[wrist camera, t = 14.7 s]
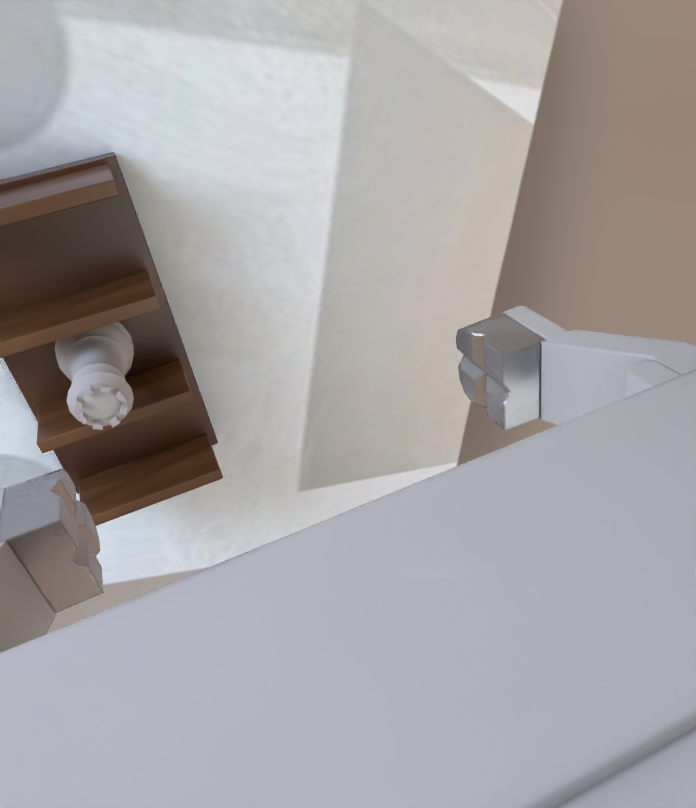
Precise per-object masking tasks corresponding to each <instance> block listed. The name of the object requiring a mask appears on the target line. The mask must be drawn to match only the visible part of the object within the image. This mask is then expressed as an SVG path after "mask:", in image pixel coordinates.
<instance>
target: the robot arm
mask: <svg viewBox="0 0 696 808" xmlns="http://www.w3.org/2000/svg"><path fill="white" fill-rule="evenodd" d="M456 344H457V349H458V350H459V351H460V352H461V353H462V354H464V356H463V358H462V360H461V362H460V364H459V366H458V368H459V377H460V382H461V384H462V387H463V390H464V392H465V393H466V395H467V396H468V398H469V399H470V400H471V401H472V402H473V403H474V404H475V405H478V406H482V407H487V415H488V416H489V417H490V418H491V419H492V420H493V421H494V422H495V423H496V424H498V425H499V426H500V427H501V428H502V429H503V430H504V431H507V430H510V429H513V428H515V427H518V426H521V425H523V424H526V423H529V422H532V421H534V420H537V419H540V418H541V420H543V421H546V422H549V423H552V424H555V425H557V426H555V427H552V428H550V429H547V430H545V431H543V432H540V433H538V434H535V435H533V436H530V437H528V438H525V439H523V440H521V441H518V442H516V443H513V444H511V445H508V446H506V447H503V448H501V449H499V450H496V451H494V452H491V453H489V454H486V455H484V456H481V457H479V458H476V459H474V460H471V461H469V462H467V463H464V464H462V465H459V466H457V467H454V468H452V469H449V470H447V471H444V472H442V473H440V474H437V475H435V476H432V477H430V478H427V479H425V480H422V481H420V482H418V483H415V484H413V485H410V486H408V487H405V488H403V489H400V490H398V491H395V492H393V493H391V494H388V495H386V496H383V497H381V498H378V499H376V500H373V501H371V502H369V503H366V504H364V505H361V506H359V507H356V508H354V509H351V510H349V511H346V512H344V513H342V514H339V515H337V516H334V517H332V518H329V519H327V520H324V521H322V522H320V523H317V524H315V525H312V526H310V527H307V528H305V529H302V530H300V531H297V532H295V533H293V534H290V535H288V536H285V537H283V538H280V539H278V540H275V541H273V542H270V543H268V544H266V545H263V546H261V547H258V548H256V549H253V550H251V551H248V552H246V553H244V554H241V555H239V556H236V557H234V558H231V559H229V560H226V561H224V562H221V563H219V564H217V565H214V566H212V567H209V568H207V569H205V570H202V571H199V572H197V573H195V574H192V575H190V576H187V577H185V578H182V579H180V580H178V581H175V582H173V583H170V584H168V585H165V586H163V587H160V588H158V589H155V590H153V591H150V592H148V593H145V594H143V595H141V596H138V597H136V598H133V599H131V600H128V601H126V602H123V603H121V604H119V605H116V606H114V607H111V608H109V609H106V610H104V611H101V612H99V613H97V614H94V615H92V616H89V617H87V618H84V619H82V620H79V621H77V622H74V623H72V624H70V625H67V626H65V627H62V628H60V629H57V630H55V631H53V632H50V633H47V631H48V630H49V628H50V626H51V624H52V623H53V621H54V619H55V617H56V614H55V613H57V612H59V611H62V610H64V609H66V608H69V607H71V606H73V605H76V604H78V603H80V602H83V601H84V600H87V599H90V598H92V597H94V596H97V595H99V594H101V593H103V581H102V567H101V565H100V563H99V561H98V560H97V558H96V556H97V554H98V553H99V551H100V543H99V537H98V534H97V530H96V526H95V523H94V521H93V519H92V516H91V514H90V512H89V510H88V508H87V506H86V504H84V503H82V502H80V501H78V500H76V488H75V484H74V483H73V481H72V479H71V478H70V476H69V474H68V473H67V472H66V471H65V470H64V469H60V470H57V471H54V472H51V473H48V474H45V475H42V476H39V477H36V478H33V479H30V480H27V481H24V482H21V483H18V484H15V485H12V486H9V487H7V488H2V489H0V808H696V346H694V345H692V344H690V343H688V342H682V341H672V340H664V339H654V338H646V337H636V336H628V335H619V334H610V333H600V332H591V331H582V330H573V331H570V332H568V331H566V330H565V329H563V328H561V327H559V326H558V325H556V324H554V323H553V322H551V321H549V320H547V319H546V318H544V317H542V316H540V315H539V314H537V313H536V312H534V311H532V310H531V309H529V308H527V307H525V306H518V307H515V308H512V309H510V310H507V311H505V312H502V313H500V314H497V315H495V316H492V317H490V318H487V319H484V320H482V321H479V322H477V323H474V324H471V325H469V326H466V327H464V328H461V329H459V330H458V331H457V336H456Z"/></svg>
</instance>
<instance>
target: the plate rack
mask: <svg viewBox="0 0 696 808" xmlns="http://www.w3.org/2000/svg"><path fill="white" fill-rule="evenodd" d="M116 322H119V323H121V324H122V325H123V326H124V327H125V329H126V330H127V331H128V333H129V334H130V335H131V339H132V343H133V347H134V350H133V352H134V356H133V361H132V366H131V368H130V369H129V371H128V372H127V374H126V375H125V376H124V377H125V380H126V382H127V383H128V384H129V386H130V387H131V389H132V393H133V397H134V400H133V404H132V409H131V410H130V411H129V413H128V414H127V415H126V417H125V418H123V419H122V420H120V421H121V423H119V424H118V425H116V426H114V427H112V426H111V425H107V426H103V430H100V429H93V426H90V425H87V424H83V423H82V422H81V421H78V420H77V419H76V418H75V417H74V416H73V415H72V413H71V412H70V410H69V407H68V404H67V396H68V390H69V389H70V388H71V384H72V381H71V380H70V379H69V378H68V377H67V376H66V375H65V374H64V373H63V372H62V371H61V369H60V368H59V364H58V361H57V358H56V353H55V343H56V341H57V340H60V339H64V338H67V337H70V336H73V335H77V334H80V333H83V332H86V331H90V330H93V329H96V328H100V327H103V326H106V325H109V324H113V323H116ZM2 357H3V359H4V361H5V363H6V364H7V366H8V368H9V370H10V372H11V373H12V375H13V377H14V379H15V381H16V383H17V384H18V386H19V388H20V390H21V392H22V394H23V395H24V397H25V399H26V401H27V403H28V405H29V406H30V408H31V410H32V412H33V414H34V415H35V417H36V419H37V421H38V432H37V445H38V446H39V448H40V450H41V452H42V453H45V452H48V451H50V450H54V452H55V454H56V456H57V457H58V459H59V461H60V463H61V465H62V467H63V468H64V470H65V471H66V472H67V473H68V474H69V476H70V478H71V479H72V481H73V483H74V484H75V488H76V492H77V494H80V502H82V503H84V504H86V506H87V508H88V510H89V512H90V514H91V516H92V519H93V521H94V523H95V526H97V525H99V524H102V523H105V522H107V521H110V520H113V519H115V518H118V517H121V516H123V515H126V514H129V513H131V512H134V511H137V510H139V509H142V508H145V507H147V506H150V505H153V504H155V503H158V502H161V501H163V500H166V499H169V498H171V497H174V496H177V495H179V494H182V493H185V492H187V491H190V490H193V489H195V488H198V487H201V486H203V485H206V484H209V483H211V482H214V481H217V480H219V479H222V478H223V476H222V473H221V470H220V468H219V465H218V462H217V459H216V457H215V454H214V451H213V448H212V446H211V445H214V444H217V443H218V441H217V438H216V436H215V433H214V430H213V427H212V424H211V422H210V419H209V416H208V413H207V410H206V408H205V405H204V402H203V399H202V396H201V394H200V391H199V388H198V385H197V382H196V380H195V377H194V374H193V371H192V368H191V366H190V363H189V360H188V357H187V354H186V352H185V349H184V346H183V343H182V340H181V338H180V335H179V332H178V329H177V326H176V324H175V321H174V318H173V315H172V312H171V310H170V307H169V304H168V301H167V298H166V296H165V293H164V290H163V287H162V284H161V282H160V279H159V276H158V273H157V270H156V268H155V265H154V262H153V259H152V256H151V254H150V251H149V248H148V245H147V242H146V240H145V237H144V234H143V231H142V228H141V226H140V223H139V220H138V217H137V214H136V212H135V209H134V206H133V203H132V200H131V198H130V195H129V192H128V189H127V186H126V184H125V181H124V178H123V175H122V172H121V170H120V167H119V164H118V161H117V158H116V156H115V153H109V154H105V155H101V156H97V157H93V158H88V159H84V160H80V161H76V162H72V163H68V164H64V165H60V166H56V167H52V168H48V169H44V170H40V171H36V172H32V173H28V174H24V175H20V176H16V177H12V178H8V179H4V180H0V358H2Z"/></svg>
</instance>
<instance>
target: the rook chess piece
mask: <svg viewBox="0 0 696 808" xmlns="http://www.w3.org/2000/svg"><path fill="white" fill-rule="evenodd" d="M133 350H134V347H133V343H132V339H131V335H130V334H129V333H128V331H127V330H126V329H125V327H124V326H123V325H122V324H121V323H119V322H116V323H113V324H109V325H106V326H103V327H100V328H96V329H93V330H90V331H86V332H83V333H80V334H77V335H73V336H70V337H67V338H64V339H60V340H57V341H56V343H55V353H56V358H57V361H58V364H59V368H60V369H61V371H62V372H63V373H64V374H65V375H66V376H67V377H68V378H69V379H70V380H71V381H72V384H71V388H70V389H69V390H68V396H67V404H68V407H69V410H70V412H71V413H72V415H73V416H74V417H75V418H76V419H77V420H78V421H81V422H82V423H83V424H87V425H90V426H93V429H100V430H103V426H107V425H111V426H112V427H114V426H116V425H118V424H119V423H121V421H120V420H122V419H123V418H125V417H126V415H127V414H128V413H129V411H130V410H131V409H132V404H133V400H134V397H133V393H132V389H131V387H130V386H129V384H128V383H127V382H126V380H125V377H124V376H125V375H126V374H127V372H128V371H129V369H130V368H131V366H132V361H133V356H134V352H133Z"/></svg>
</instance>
